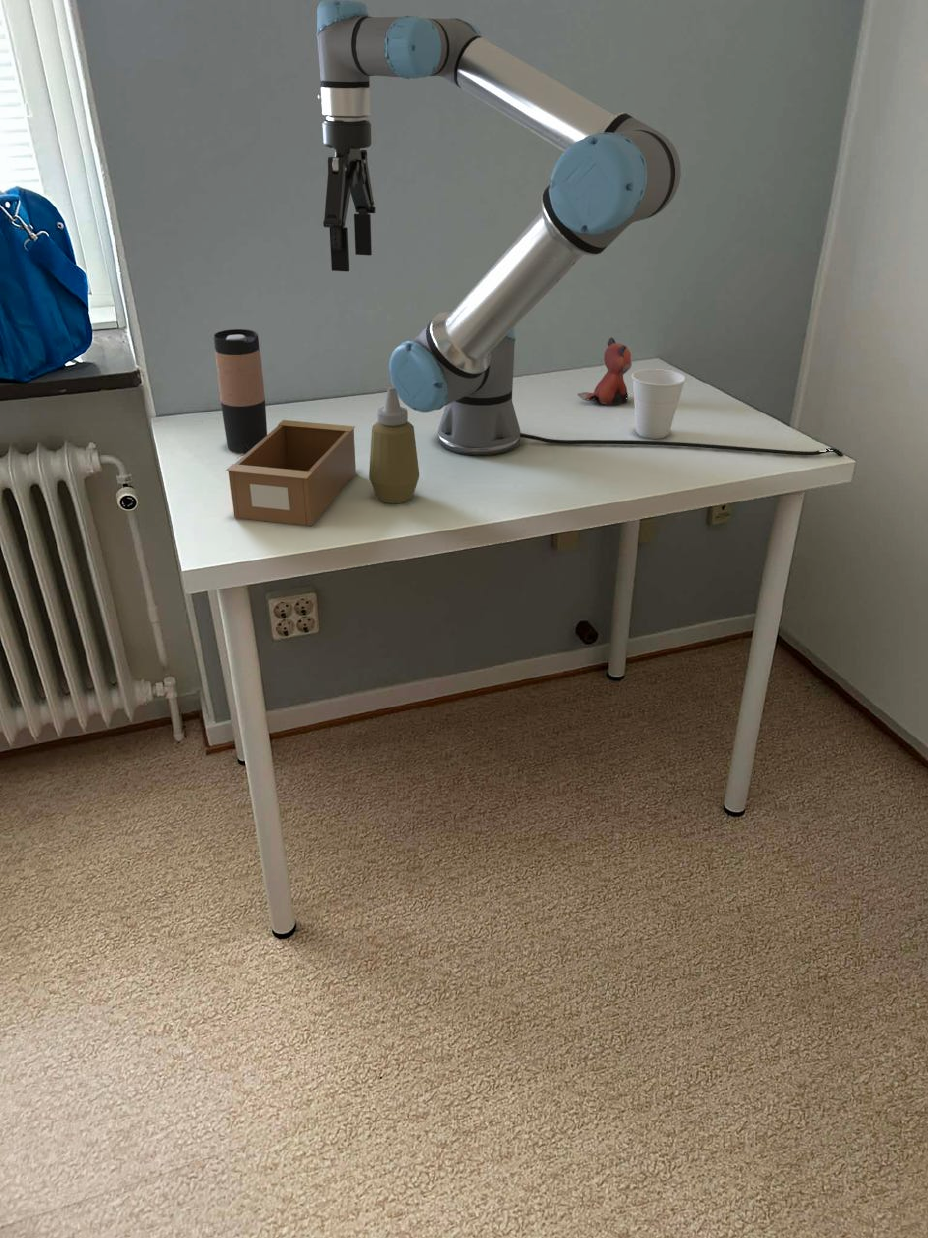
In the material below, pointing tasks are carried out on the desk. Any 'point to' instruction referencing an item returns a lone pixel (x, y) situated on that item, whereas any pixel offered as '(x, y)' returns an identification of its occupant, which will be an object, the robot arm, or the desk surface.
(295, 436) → the wooden box
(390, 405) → the squeeze bottle
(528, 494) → the desk surface
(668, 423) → the cup
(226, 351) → the travel mug
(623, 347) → the stuffed fox
